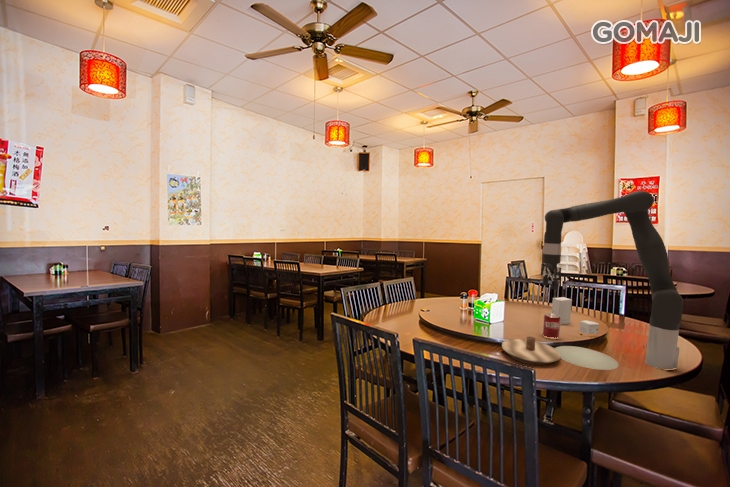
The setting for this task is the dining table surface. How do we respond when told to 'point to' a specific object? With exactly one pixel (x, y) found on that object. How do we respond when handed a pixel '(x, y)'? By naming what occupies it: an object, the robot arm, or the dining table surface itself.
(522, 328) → the dining table surface
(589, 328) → the skincare box
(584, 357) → the disc
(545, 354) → the lid
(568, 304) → the skincare box
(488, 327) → the dining table surface
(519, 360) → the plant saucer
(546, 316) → the soda can
